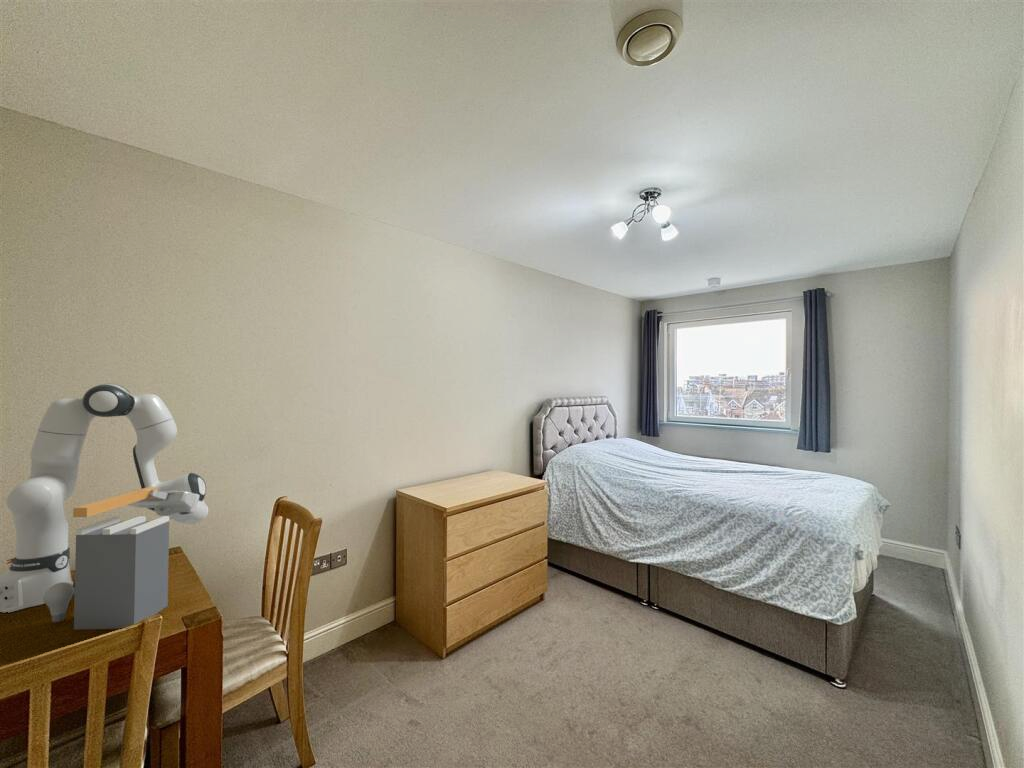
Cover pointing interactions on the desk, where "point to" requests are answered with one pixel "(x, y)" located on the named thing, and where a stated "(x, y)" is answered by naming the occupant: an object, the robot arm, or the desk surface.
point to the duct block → (120, 572)
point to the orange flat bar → (112, 502)
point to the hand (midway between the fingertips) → (142, 492)
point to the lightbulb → (58, 599)
